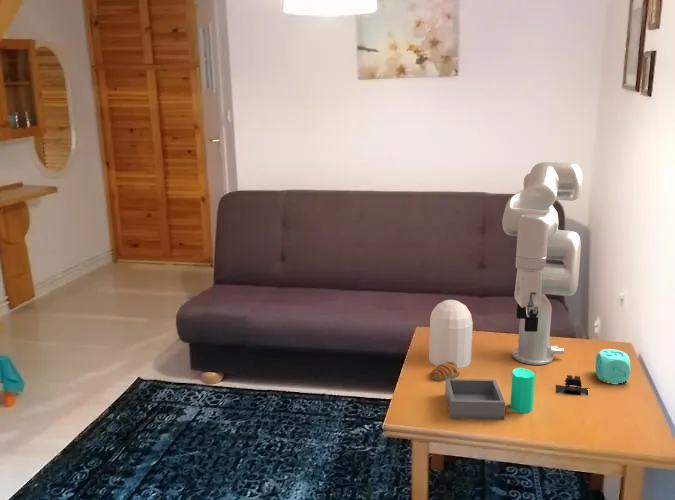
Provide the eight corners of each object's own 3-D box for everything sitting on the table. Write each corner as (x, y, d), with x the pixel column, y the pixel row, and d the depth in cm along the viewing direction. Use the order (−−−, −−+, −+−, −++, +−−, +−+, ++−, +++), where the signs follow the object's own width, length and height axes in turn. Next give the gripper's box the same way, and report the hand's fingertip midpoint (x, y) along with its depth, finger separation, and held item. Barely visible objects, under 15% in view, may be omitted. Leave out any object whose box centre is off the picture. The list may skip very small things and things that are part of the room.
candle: (507, 403, 185) (509, 363, 182) (528, 402, 185) (530, 362, 183) (514, 413, 179) (517, 372, 176) (536, 412, 180) (539, 371, 177)
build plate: (594, 389, 194) (595, 375, 193) (596, 400, 187) (597, 385, 186) (549, 384, 198) (550, 370, 196) (550, 395, 191) (551, 380, 190)
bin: (494, 395, 189) (495, 379, 188) (504, 419, 176) (505, 402, 175) (445, 394, 190) (445, 378, 189) (450, 418, 177) (451, 401, 175)
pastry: (441, 385, 197) (441, 373, 196) (424, 377, 202) (424, 366, 201) (461, 376, 203) (462, 364, 202) (444, 369, 208) (445, 357, 207)
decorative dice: (629, 385, 196) (632, 360, 194) (601, 383, 197) (603, 358, 195) (621, 373, 203) (624, 349, 201) (594, 372, 204) (596, 348, 202)
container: (426, 366, 209) (428, 306, 205) (430, 350, 222) (432, 293, 217) (469, 370, 206) (472, 309, 201) (471, 353, 219) (474, 295, 214)
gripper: (509, 253, 181) (506, 313, 185) (523, 271, 164) (518, 336, 168) (537, 254, 180) (533, 313, 185) (554, 271, 164) (549, 336, 168)
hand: (526, 324), depth 176 cm, fingers open, 9 cm apart
